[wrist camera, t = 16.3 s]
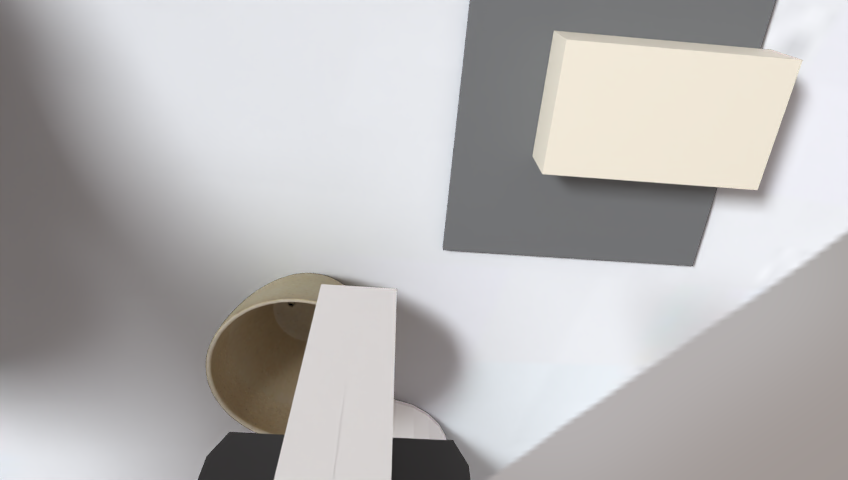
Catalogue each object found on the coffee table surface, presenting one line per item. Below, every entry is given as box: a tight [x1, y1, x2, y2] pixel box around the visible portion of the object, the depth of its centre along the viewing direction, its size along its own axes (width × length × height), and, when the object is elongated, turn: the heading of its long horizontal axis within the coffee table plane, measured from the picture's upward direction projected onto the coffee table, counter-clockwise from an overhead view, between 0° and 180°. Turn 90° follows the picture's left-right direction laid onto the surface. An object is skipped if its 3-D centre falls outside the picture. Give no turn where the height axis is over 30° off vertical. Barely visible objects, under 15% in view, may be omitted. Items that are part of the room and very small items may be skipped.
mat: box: [443, 0, 776, 266], centre depth 35 cm, size 16×22×1 cm
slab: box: [532, 31, 803, 190], centre depth 34 cm, size 3×7×12 cm
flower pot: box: [206, 273, 344, 435], centre depth 38 cm, size 10×10×7 cm
